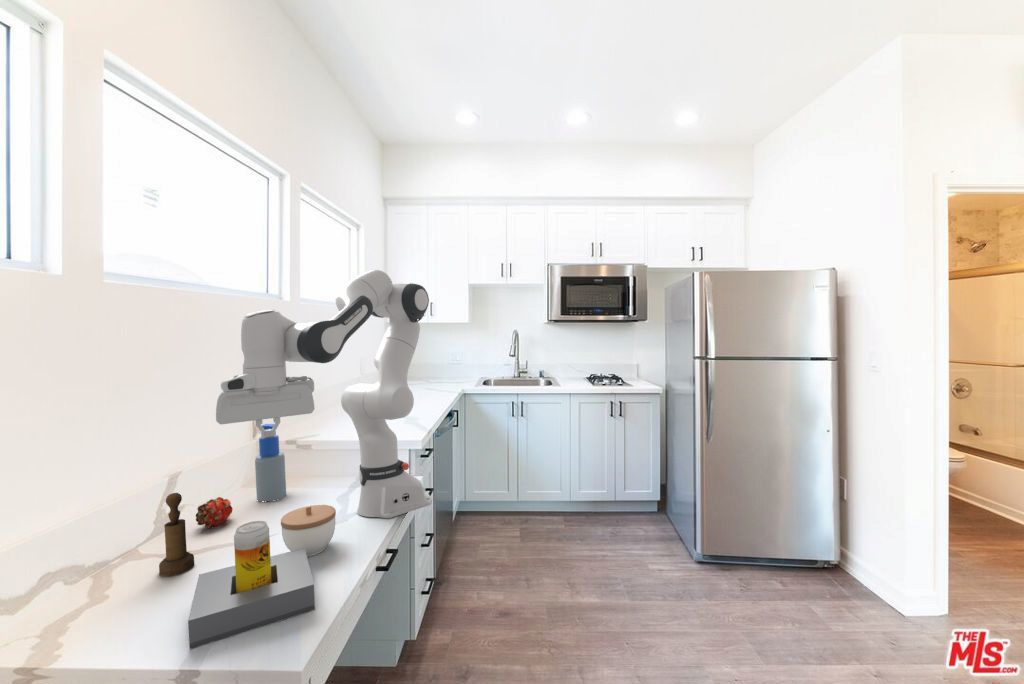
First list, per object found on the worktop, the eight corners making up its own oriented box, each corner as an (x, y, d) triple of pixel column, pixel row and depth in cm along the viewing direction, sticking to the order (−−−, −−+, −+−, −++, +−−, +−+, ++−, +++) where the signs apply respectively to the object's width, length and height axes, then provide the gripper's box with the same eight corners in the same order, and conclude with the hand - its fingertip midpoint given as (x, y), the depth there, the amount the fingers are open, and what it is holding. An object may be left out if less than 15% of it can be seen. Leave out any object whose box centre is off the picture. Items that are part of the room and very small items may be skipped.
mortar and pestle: (156, 579, 100) (152, 500, 100) (162, 567, 106) (159, 492, 106) (191, 571, 104) (188, 494, 103) (196, 559, 109) (193, 486, 109)
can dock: (305, 569, 102) (304, 548, 102) (315, 609, 87) (313, 584, 87) (200, 598, 92) (199, 574, 92) (189, 649, 77) (187, 620, 77)
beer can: (257, 611, 85) (253, 533, 85) (229, 608, 86) (226, 532, 86) (278, 592, 91) (275, 520, 91) (252, 591, 92) (249, 519, 92)
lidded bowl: (284, 545, 115) (282, 502, 115) (336, 534, 120) (334, 494, 120) (280, 567, 104) (277, 520, 104) (338, 555, 109) (335, 510, 109)
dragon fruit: (199, 540, 123) (223, 528, 135) (225, 520, 125) (247, 510, 137) (181, 516, 124) (207, 506, 136) (207, 496, 125) (231, 487, 137)
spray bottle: (251, 499, 151) (248, 425, 150) (278, 491, 158) (275, 421, 158) (264, 504, 145) (261, 428, 145) (291, 495, 153) (288, 423, 152)
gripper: (312, 374, 112) (315, 428, 113) (215, 382, 102) (218, 441, 102) (315, 375, 107) (318, 432, 107) (212, 384, 96) (217, 447, 97)
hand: (269, 437), depth 105 cm, fingers closed
